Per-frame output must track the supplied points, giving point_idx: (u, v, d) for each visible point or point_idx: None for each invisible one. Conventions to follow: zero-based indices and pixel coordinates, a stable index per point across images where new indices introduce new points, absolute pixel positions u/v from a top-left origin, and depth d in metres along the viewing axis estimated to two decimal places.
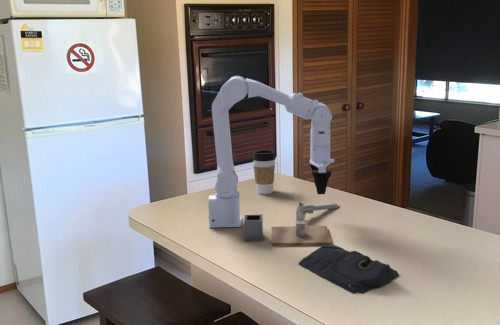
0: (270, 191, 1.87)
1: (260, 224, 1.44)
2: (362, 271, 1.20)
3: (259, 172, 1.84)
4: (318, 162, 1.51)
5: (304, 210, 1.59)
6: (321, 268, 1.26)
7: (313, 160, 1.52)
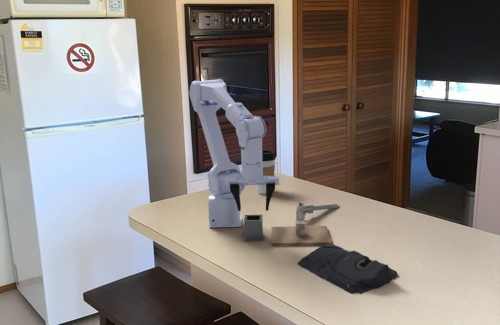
0: None
1: (260, 224, 1.44)
2: (361, 271, 1.19)
3: None
4: None
5: (304, 210, 1.59)
6: (320, 268, 1.26)
7: None
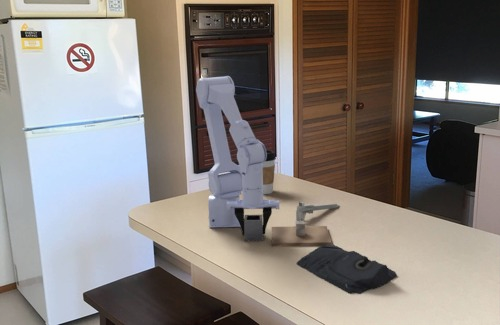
0: (270, 191, 1.87)
1: (260, 224, 1.44)
2: (359, 271, 1.19)
3: None
4: (242, 201, 1.46)
5: (304, 210, 1.59)
6: (319, 268, 1.26)
7: None
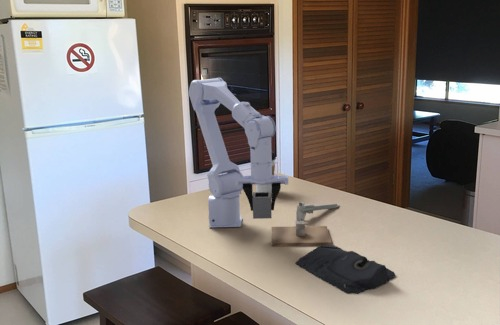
0: (270, 191, 1.87)
1: (269, 201, 1.42)
2: (358, 271, 1.19)
3: None
4: (251, 176, 1.44)
5: (304, 210, 1.59)
6: (317, 268, 1.26)
7: None
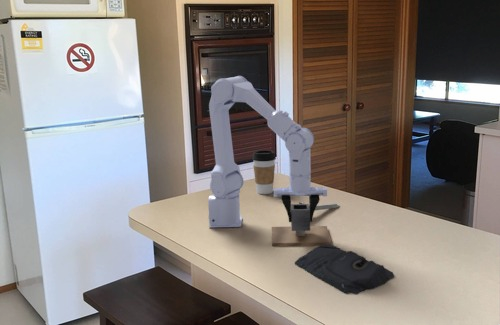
0: (270, 191, 1.87)
1: (308, 213, 1.43)
2: (356, 271, 1.19)
3: (259, 172, 1.84)
4: (289, 188, 1.45)
5: None
6: (316, 268, 1.26)
7: None
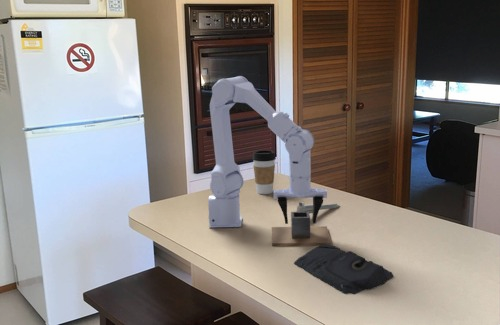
0: (270, 191, 1.87)
1: (308, 221, 1.43)
2: (355, 272, 1.19)
3: (259, 172, 1.84)
4: (289, 190, 1.45)
5: (304, 210, 1.59)
6: (315, 268, 1.26)
7: None
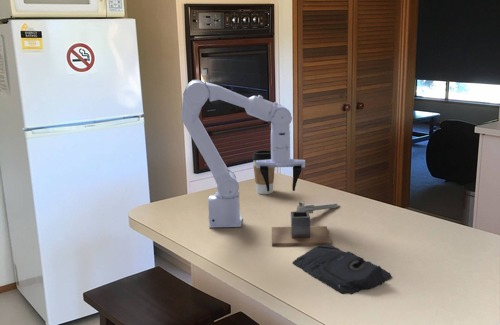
0: (270, 191, 1.87)
1: (308, 221, 1.43)
2: (353, 272, 1.19)
3: (259, 172, 1.84)
4: (271, 160, 1.58)
5: (304, 210, 1.59)
6: (314, 268, 1.26)
7: None
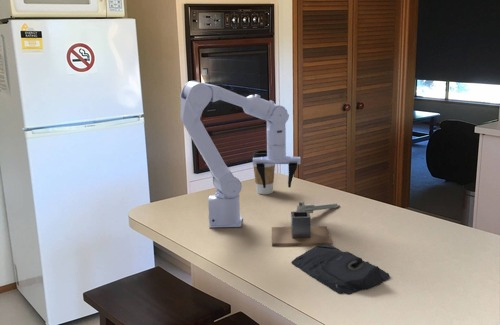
0: (270, 191, 1.87)
1: (308, 221, 1.43)
2: (351, 272, 1.19)
3: None
4: (267, 157, 1.61)
5: (304, 210, 1.59)
6: (312, 267, 1.26)
7: None
